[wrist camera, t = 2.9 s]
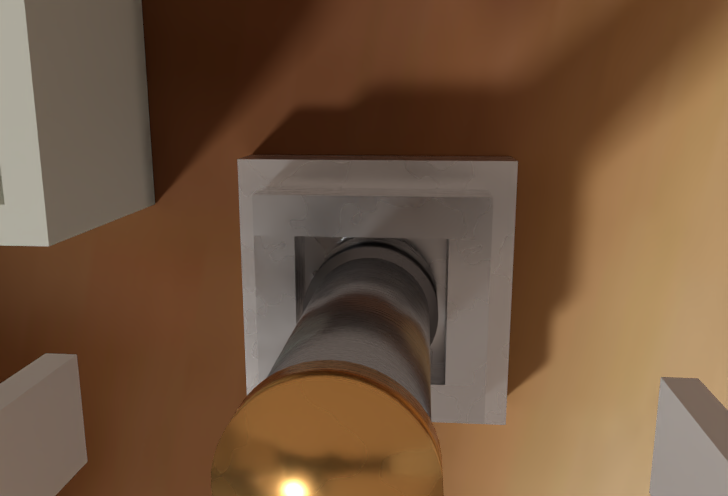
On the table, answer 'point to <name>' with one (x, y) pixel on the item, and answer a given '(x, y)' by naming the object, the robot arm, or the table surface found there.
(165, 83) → the table surface
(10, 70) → the bin
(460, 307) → the grey square socket base
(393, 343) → the gold topped grey cylinder
